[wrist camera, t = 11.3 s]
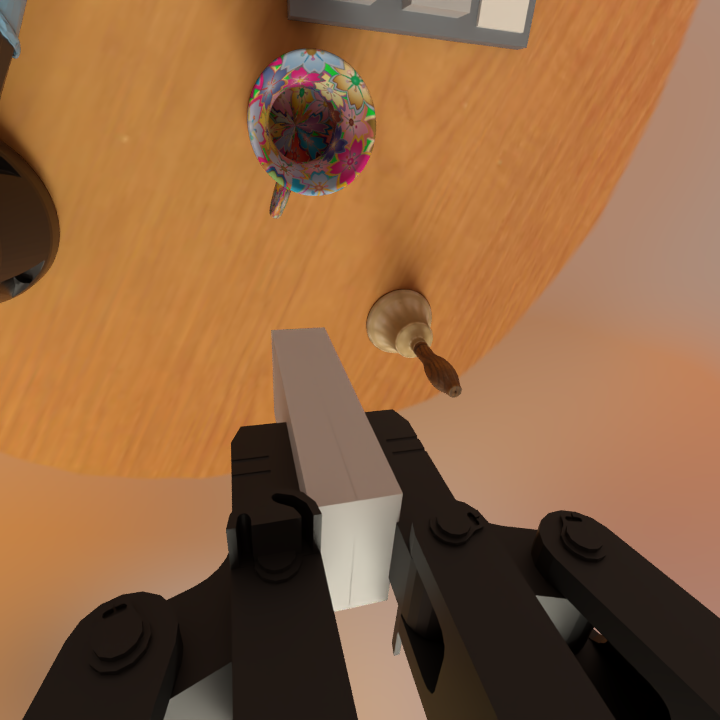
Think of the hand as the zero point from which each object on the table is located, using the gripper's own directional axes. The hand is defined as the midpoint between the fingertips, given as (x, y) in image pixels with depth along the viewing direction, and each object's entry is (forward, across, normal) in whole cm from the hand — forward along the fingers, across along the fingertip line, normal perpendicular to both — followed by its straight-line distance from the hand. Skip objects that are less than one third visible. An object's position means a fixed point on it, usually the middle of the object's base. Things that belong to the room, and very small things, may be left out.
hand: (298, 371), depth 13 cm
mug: (+35, +4, +5) cm, 35 cm away
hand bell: (+35, +17, -14) cm, 41 cm away
